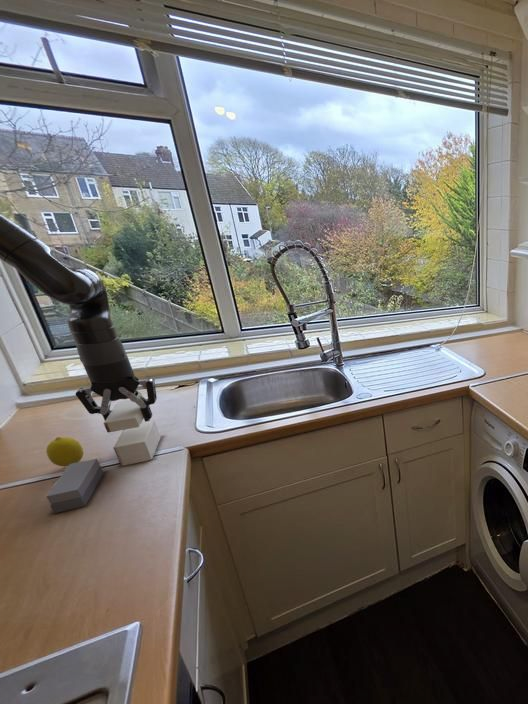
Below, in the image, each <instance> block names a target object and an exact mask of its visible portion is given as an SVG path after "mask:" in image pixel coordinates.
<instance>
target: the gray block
mask: <svg viewBox="0 0 528 704" xmlns="http://www.w3.org/2000/svg"><path fill="white" fill-rule="evenodd" d="M103 475H104V470H103V469H102V467H101V464H100V462H99V460H98V458H93V459H88V460H83V461H79V462H77V463H72V464H69V465H68V466H66V468H65V470H63V472H62V474H61V475H60V477H59V478H58V480H57V481H56V482H55V484H54V485H53V486H52V488H51V489H50V490H49V492H48V494H47V495H46V499H47V500H48V502H49V507H50V509H51V510H52V512H53V514H58V513H62V512H66V511H70V510H75V509H79V508H83V507H86V505H87V504H88V502H89V500H90V498H91V496H92V495H93V493H94V491H95V489H96V487H97V486H98V484H99V482H100V480H101V478H103Z"/></svg>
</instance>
